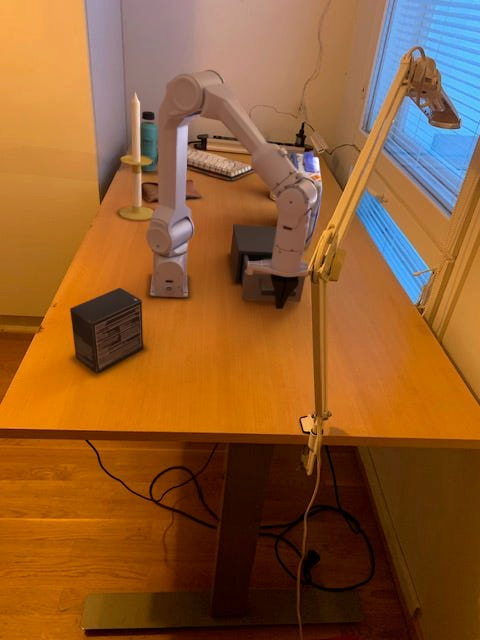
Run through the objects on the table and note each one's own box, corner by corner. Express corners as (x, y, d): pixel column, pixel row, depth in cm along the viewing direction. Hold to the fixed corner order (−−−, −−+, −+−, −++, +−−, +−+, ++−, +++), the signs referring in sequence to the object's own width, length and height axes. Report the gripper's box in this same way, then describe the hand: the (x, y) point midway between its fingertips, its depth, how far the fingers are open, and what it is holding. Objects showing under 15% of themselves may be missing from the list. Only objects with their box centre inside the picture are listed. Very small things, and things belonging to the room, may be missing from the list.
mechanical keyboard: (255, 170, 187) (256, 161, 185) (230, 182, 173) (231, 173, 171) (174, 149, 200) (174, 140, 199) (145, 158, 186) (144, 149, 184)
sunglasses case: (148, 201, 148) (144, 179, 147) (142, 206, 154) (138, 184, 153) (203, 197, 156) (199, 176, 155) (194, 201, 162) (191, 181, 161)
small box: (121, 333, 93) (119, 285, 87) (145, 348, 90) (144, 299, 84) (73, 357, 86) (67, 306, 80) (97, 374, 82) (92, 323, 77)
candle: (161, 213, 143) (163, 92, 125) (139, 223, 135) (137, 96, 118) (135, 204, 147) (133, 85, 129) (111, 213, 139) (106, 89, 121)
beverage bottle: (136, 169, 173) (135, 109, 162) (154, 169, 176) (154, 109, 165) (141, 175, 169) (140, 114, 158) (160, 175, 171) (160, 114, 160)
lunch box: (274, 214, 151) (285, 141, 139) (307, 218, 151) (321, 145, 139) (273, 253, 128) (287, 169, 116) (313, 258, 128) (330, 175, 116)
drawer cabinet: (294, 286, 115) (301, 253, 110) (235, 283, 113) (238, 250, 108) (284, 257, 127) (289, 227, 122) (230, 255, 125) (233, 224, 120)
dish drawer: (305, 315, 103) (311, 288, 99) (244, 313, 101) (248, 286, 97) (289, 272, 118) (293, 247, 115) (236, 269, 117) (239, 244, 113)
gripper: (322, 238, 96) (310, 297, 103) (249, 233, 94) (241, 294, 102) (330, 254, 90) (316, 316, 97) (252, 249, 88) (244, 312, 96)
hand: (278, 306), depth 99 cm, fingers closed
